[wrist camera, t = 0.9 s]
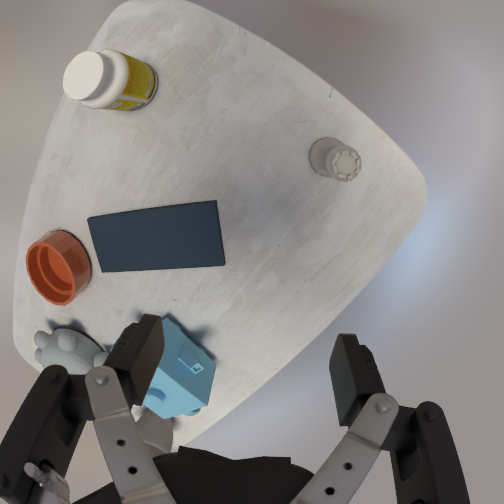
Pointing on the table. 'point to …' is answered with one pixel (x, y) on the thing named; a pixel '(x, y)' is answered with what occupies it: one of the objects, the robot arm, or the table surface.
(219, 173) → the table surface
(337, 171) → the rook chess piece
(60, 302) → the bowl
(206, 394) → the teapot
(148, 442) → the mug
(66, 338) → the figurine
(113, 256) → the rectangular board
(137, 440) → the robot arm
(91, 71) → the pill bottle
